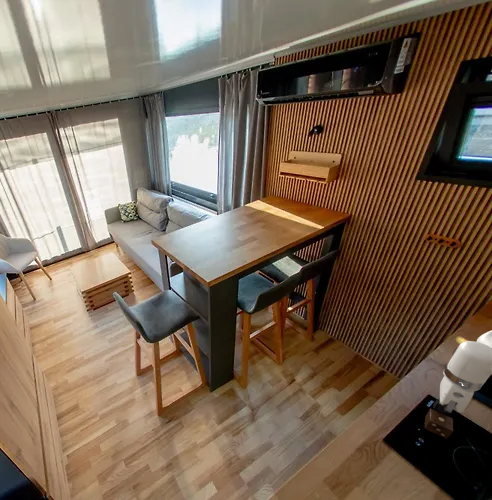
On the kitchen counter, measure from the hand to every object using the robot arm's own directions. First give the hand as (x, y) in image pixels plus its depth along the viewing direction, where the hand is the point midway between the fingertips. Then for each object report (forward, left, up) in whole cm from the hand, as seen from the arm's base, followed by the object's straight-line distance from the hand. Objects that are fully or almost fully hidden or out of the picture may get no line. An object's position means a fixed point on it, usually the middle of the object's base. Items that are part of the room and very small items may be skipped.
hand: (440, 410), depth 86 cm
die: (0, +4, -4) cm, 6 cm away
